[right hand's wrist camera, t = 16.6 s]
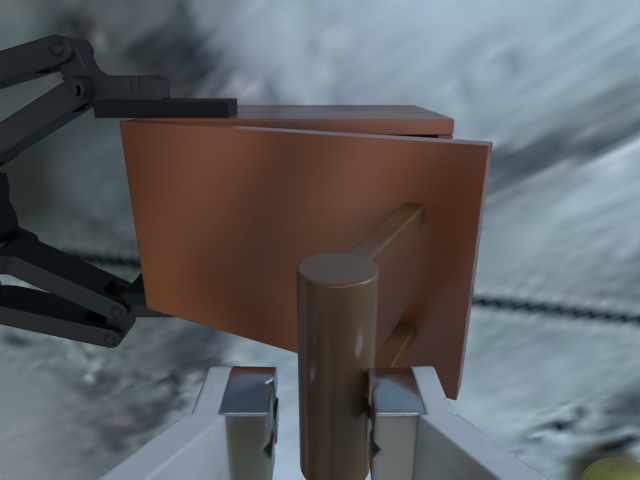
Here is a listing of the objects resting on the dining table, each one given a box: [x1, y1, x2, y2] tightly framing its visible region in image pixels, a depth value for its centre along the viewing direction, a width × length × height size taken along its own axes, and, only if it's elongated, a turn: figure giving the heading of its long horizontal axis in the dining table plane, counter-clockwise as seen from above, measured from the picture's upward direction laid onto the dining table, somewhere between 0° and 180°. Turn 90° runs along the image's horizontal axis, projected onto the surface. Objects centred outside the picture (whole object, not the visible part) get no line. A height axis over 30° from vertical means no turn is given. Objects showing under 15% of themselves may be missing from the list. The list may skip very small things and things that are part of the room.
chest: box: [132, 105, 454, 139], centre depth 27 cm, size 15×10×9 cm, turn 90°
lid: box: [120, 120, 493, 480], centre depth 16 cm, size 16×10×8 cm, turn 89°
